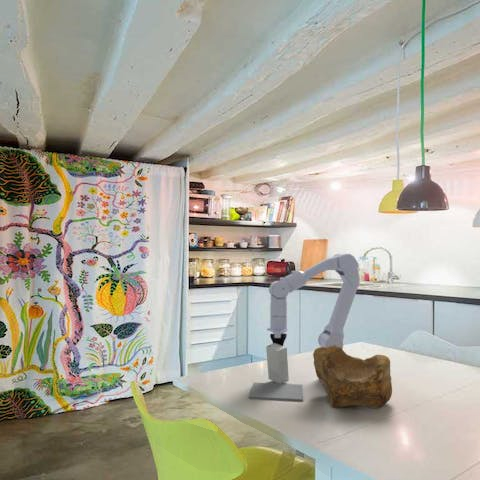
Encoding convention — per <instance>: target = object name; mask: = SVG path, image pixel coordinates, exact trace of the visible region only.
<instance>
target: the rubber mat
mask: <svg viewBox="0 0 480 480" xmlns="http://www.w3.org/2000/svg"><path fill="white" fill-rule="evenodd" d="M303 391H304V390H303V384H298V383H297V384H293V383H284V384H278V383H276V382H253V384H252V387H251V390H250V392H249V395H248V398H249V399H252V400H268V401H269V400H270V401H284V402H285V401H288V402H290V401H292V402H304V393H303Z"/></svg>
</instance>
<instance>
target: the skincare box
mask: <svg viewBox="0 0 480 480" xmlns="http://www.w3.org/2000/svg"><path fill="white" fill-rule="evenodd" d="M265 349H266V362H267V374H268V380H270V381H272V382H273V383H276V384H287V382H289V379H290V378H289V365H288V364H289V363H288V362H289V359H288V347H286V346H284V345H283V346H281V345H279V344H276V343H273V342H272V343H270V344H269V345H267V346H265Z"/></svg>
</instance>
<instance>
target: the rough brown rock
mask: <svg viewBox="0 0 480 480" xmlns="http://www.w3.org/2000/svg"><path fill="white" fill-rule="evenodd" d="M312 353H313V354H312V357H313V365H314V369H315V374H316V377H317V378H318V379H320V380H322V381H321V383H322V386H323V388H324V391H325V393H326V394H327V398H328V401H329V405H330V407H331V408H344V407H348V406H364V407H367V408H371V409H379V408H381V407H383V406H384V405H386V404H387V403H388V402H389V401H390V400H391V398H392V394H393V386H392V385H393V384H392V376H391V360H390V357H388V356H387V355H383V354H375V355H373V356H371V357H367V358H365V359H362V358H359V357H356V356H355V357H354V356H351V355H349V354H347V353H346V352H345V351H344V349H342V348H341V347H338V346H331V347H328V348H325V347H321V346H320V347H317V348H316V349H314V351H313V352H312ZM320 380H319V381H320Z"/></svg>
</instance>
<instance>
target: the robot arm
mask: <svg viewBox="0 0 480 480" xmlns="http://www.w3.org/2000/svg"><path fill="white" fill-rule="evenodd" d="M326 271H335V272H336V273H337V274H338V275H339V277H340V278H341V281H342V285H341V288H340V291H339V294H338V296H337V299H336V302H335V305H334V308H333V311H332V313H331V317H330V319H329V321H328V324H327V325H326V326H325V327H324V329H323V331H322V332H321V333H320V334H319V336H318V338H317V342H318V345H319V346H320V347H325V348H328V347H331V346H338V347H341V348H342V349H343V347H344V338H345V333H344V327H345V325H346V322H347V319H348V316H349V313H350V311H351V307H352V306H353V305H352V304H353V302H354V299H355V297H356V293H357V290H358V288H359V285H360V282H361V281H360V274H359V262H358V260H357V259H356V257H355V256H354V255H352V254H351V253H343V254H341V253H337V254H334V255H332V256H329V257H326V258H325V259H323V260H320V261H319V262H317V263H316V264H314V265H312V266H310V267H309V268H307V269H305V270H304V271H302V270H298V269H297V270H291V273H289V274H288V275H286V276H284V277H282V276H281V277H279V280H276V281H272V282H271V284H270V285H269V288H268V292H269V294H270V305H269V309H270V313H269V316H270V317H269V318H270V320H269V321H270V325H269V326H270V327H267V328H266V330H267V332H268V331H269V332H271V333H270V336H269V337H270V339H271V341H272V344H273V343H276V344H279V345H281V346H284V344H285V341H286V340H287V339H286V338H287V335H288V334H287V333H286V332H288V328H287V327H288V320H287V319H288V317H287V316H288V315H287V314H288V312H287V311H288V310H287V309H288V307H287V306H288V302H287V296H288V295H289V294H290V293H292V292H295V291H297V290H298V289H301V288H302V287H304V286H306V285H307V283H308V280H310V279H311V278H313V277H316V276H319V274H322V273H324V272H326ZM343 350H344V349H343ZM318 379H319V378H318ZM319 381H320V382H322V380H320V379H319Z"/></svg>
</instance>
